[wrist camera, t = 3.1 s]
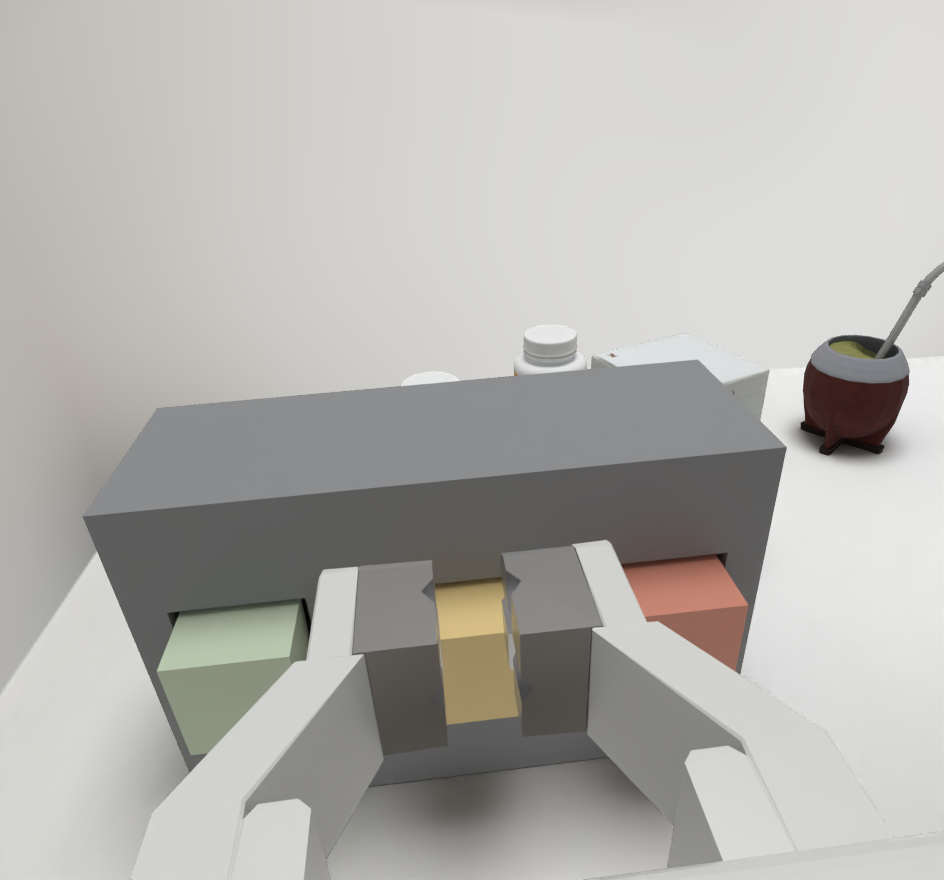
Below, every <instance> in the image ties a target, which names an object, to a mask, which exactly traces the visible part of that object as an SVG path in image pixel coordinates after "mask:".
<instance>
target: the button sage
mask: <svg viewBox="0 0 944 880" xmlns="http://www.w3.org/2000/svg"><path fill="white" fill-rule="evenodd" d="M309 638H310V634H309V630H308V625H307V621H306V617H305V613H304V609H303V604H302V600H301V598H300V599H291V600H281V601H272V602H263V603H253V604H244V605H235V606H225V607H216V608H207V609H197V610H188V611H180V613H179V616H178V618H177V621H176V623H175V626H174V628H173V631H172V633H171V636H170V639H169V641H168V644H167V646H166V649H165V651H164V654H163V656H162V659H161V661H160V664H159V667H158V669H157V674H158V676H159V679H160V681H161V684H162V686H163V689H164V691H165V694H166V696H167V698H168V701H169V703H170V706H171V708H172V711H173V713H174V716H175V718H176V720H177V723H178V725H179V728H180V730H181V733H182V735H183V738H184V740H185V743H186V745H187V747H188V750H189V752H190V755H198V754H206V753H209V752H210V751H211V750H212V749H213V748H214V747H215V746H216V745H217V744H218V742H219V741H220V740H221V739H222V738H223V737H224V736H225V735H226V734H227V733H228V732H229V731H230V730H231V729H232V728H233V727H234V726H235V724H236V723H237V722H238V721H239V720H240V719H241V718H242V717H243V716H244V715H245V714H246V713H247V712H248V711H249V710H250V709H251V708H252V706H253V705H254V704H255V703H256V702H257V701H258V700H259V699H260V698H261V697H262V696H263V695H264V694H265V693H266V692H267V691H268V689H269V688H270V687H271V686H272V685H273V684H274V683H275V682H276V681H277V680H278V679H279V678H280V677H281V676H282V675H283V674H284V673H285V671H286V670H287V669H288V668H289V667H290V666H291V665H292V664H293V663H294V662H298V661H306V657H307V651H308V645H309Z"/></svg>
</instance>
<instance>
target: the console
mask: <svg viewBox="0 0 944 880" xmlns="http://www.w3.org/2000/svg"><path fill="white" fill-rule="evenodd" d="M786 448H787V447H786V446H785V445H784V444H783V443H782V442H781V441H780V440H779V439H778V438H777V437H776V436H775V435H774V434H773V433H772V432H771V431H770V430H769V429H768V428H767V427H766V426H765V425H764V424H763V423H762V422H761V421H760V420H759V419H758V418H757V417H756V416H755V415H754V414H753V413H752V412H751V411H750V410H749V409H748V408H746V407H745V406H744V405H743V404H742V403H741V402H740V401H739V400H738V399H737V398H736V397H735V396H734V395H733V394H732V393H731V392H730V391H729V390H728V389H727V388H726V387H725V386H724V385H723V384H722V383H721V382H720V381H719V380H718V379H717V378H716V377H715V376H714V375H713V374H712V373H711V372H710V371H709V370H708V369H707V368H706V367H705V366H704V365H703V364H702V363H701V362H700V361H699V360H687V361H676V362H664V363H653V364H642V365H631V366H620V367H609V368H598V369H587V370H576V371H565V372H553V373H542V374H531V375H520V376H509V377H498V378H487V379H476V380H465V381H453V382H442V383H431V384H420V385H409V386H398V387H387V388H377V389H365V390H354V391H342V392H332V393H320V394H309V395H298V396H287V397H276V398H266V399H254V400H244V401H231V402H221V403H209V404H199V405H189V406H188V405H187V406H176V407H165V408H157V410H156V411H155V412H154V414H153V416H152V417H151V418H150V420H149V421H148V423H147V424H146V426H145V427H144V428H143V430H142V431H141V433H140V434H139V436H138V437H137V439H136V440H135V441H134V443H133V444H132V446H131V447H130V449H129V450H128V452H127V453H126V455H125V456H124V457H123V459H122V460H121V462H120V463H119V465H118V466H117V468H116V469H115V470H114V472H113V473H112V475H111V476H110V478H109V479H108V481H107V482H106V484H105V485H104V486H103V488H102V489H101V491H100V492H99V494H98V495H97V497H96V498H95V499H94V501H93V502H92V504H91V505H90V507H89V508H88V510H87V511H86V513H85V514H84V515H83V518H84V521H85V523H86V526H87V528H88V530H89V533H90V535H91V537H92V540H93V542H94V545H95V547H96V550H97V552H98V554H99V557H100V559H101V562H102V564H103V566H104V569H105V571H106V573H107V576H108V578H109V581H110V583H111V585H112V588H113V590H114V593H115V595H116V597H117V600H118V602H119V605H120V607H121V609H122V612H123V614H124V617H125V619H126V621H127V624H128V626H129V629H130V631H131V633H132V636H133V638H134V640H135V643H136V645H137V648H138V650H139V652H140V655H141V657H142V660H143V662H144V664H145V667H146V669H147V672H148V674H149V676H150V679H151V681H152V684H153V686H154V688H155V691H156V693H157V696H158V698H159V700H160V703H161V705H162V708H163V710H164V712H165V715H166V717H167V719H168V722H169V724H170V727H171V729H172V731H173V734H174V736H175V739H176V741H177V743H178V746H179V748H180V751H181V753H182V755H183V758H184V760H185V763H186V765H187V767H188V770H189V772H191V771H192V770H193V769H194V768H195V767H196V766H197V765H198V764H199V763H200V762H201V760H202V759H203V758H204V757H205V756H206V755H207V754H208V753H206V754H198V755H190V752H189V750H188V747H187V745H186V743H185V740H184V738H183V735H182V733H181V730H180V728H179V725H178V723H177V720H176V718H175V716H174V713H173V711H172V708H171V706H170V703H169V701H168V698H167V696H166V694H165V691H164V689H163V686H162V684H161V681H160V679H159V676H158V674H157V669H158V667H159V664H160V661H161V659H162V656H163V654H164V651H165V649H166V646H167V644H168V641H169V639H170V636H171V633H172V631H173V628H174V626H175V623H176V621H177V618H178V616H179V613H180V611H188V610H197V609H207V608H216V607H225V606H235V605H244V604H253V603H263V602H272V601H281V600H291V599H300V598H301V600H302V604H303V609H304V613H305V617H306V621H307V625H308V630H309V634H310V632H311V625H312V619H313V612H314V606H315V599H316V593H317V586H318V580H319V576H320V574H321V573H322V571H323V570H325V569H337V568H348V567H360V566H366V565H378V564H390V563H402V562H415V561H427V560H432V564H433V573H434V581H435V584H440V583H449V582H459V581H468V580H477V579H486V578H496V577H501V568H500V557H501V553H507V552H516V551H525V550H534V549H543V548H552V547H561V546H571V545H572V544H579V543H586V542H594V541H602V540H607V541H609V542H610V543H611V544H612V546H613V548H614V550H615V553H616V555H617V557H618V559H619V561H620V564H626V563H636V562H645V561H654V560H664V559H673V558H682V557H692V556H701V555H710V554H716V555H717V557H718V559H719V560H720V562H721V563H722V565H723V566H724V568H725V569H726V571H727V572H728V574H729V576H730V577H731V579H732V580H733V582H734V583H735V585H736V586H737V588H738V589H739V591H740V593H741V594H742V596H743V597H744V599H745V600H746V602H747V603H748V605H749V606H748V611H747V616H746V621H745V626H744V631H743V636H742V641H741V646H740V651H739V656H738V661H737V666H736V671H735V672H737V673H738V674H740V673H741V668H742V663H743V658H744V653H745V648H746V643H747V638H748V633H749V629H750V624H751V619H752V614H753V609H754V604H755V599H756V594H757V589H758V585H759V580H760V575H761V570H762V565H763V560H764V555H765V550H766V545H767V541H768V536H769V531H770V526H771V521H772V516H773V511H774V506H775V501H776V497H777V492H778V487H779V482H780V477H781V472H782V467H783V462H784V457H785V453H786ZM447 732H448V746H445V747H439V748H432V749H425V750H419V751H412V752H405V753H398V754H392V755H385V756H383V759H384V760H383V762H382V764H381V765H380V767H379V769H378V771H377V772H376V774H375V776H374V778H373V779H372V781H371V783H370V785H369V786H368V787H371V786H379V785H387V784H395V783H403V782H411V781H419V780H427V779H436V778H444V777H452V776H460V775H468V774H476V773H484V772H492V771H500V770H508V769H516V768H524V767H532V766H540V765H549V764H557V763H565V762H573V761H581V760H589V759H597V758H605V757H608V756H607V755H606V754H605V753H604V751H603V750H602V749H601V748H600V747H599V746H598V745H597V744H596V743H595V742H594V741H593V740H592V739H591V738H590V737H589V736H588V735H587V731H583V732H573V733H562V734H551V735H540V736H529V737H523V735H522V730H521V725H520V720H519V716H516V717H508V718H499V719H491V720H483V721H474V722H466V723H458V724H449V725H447Z"/></svg>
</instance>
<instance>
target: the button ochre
mask: <svg viewBox="0 0 944 880" xmlns="http://www.w3.org/2000/svg"><path fill="white" fill-rule="evenodd" d="M435 591H436V603H437V609H438V619H439V629H440V640H441V652H442V664H443V682H444V692H445V702H446V717H447V725H449V724H458V723H466V722H474V721H483V720H491V719H499V718H508V717H516V716H519V715H518V710H517V705H516V700H515V693H514V671H512V670H511V669H510V667H509V662H508V656H507V650H506V643H505V636H504V625H503V611H502V600H503V598H504V597H505V596H504V590H503V585H502V580H501V577H496V578H486V579H477V580H468V581H459V582H449V583H440V584H435Z"/></svg>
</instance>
